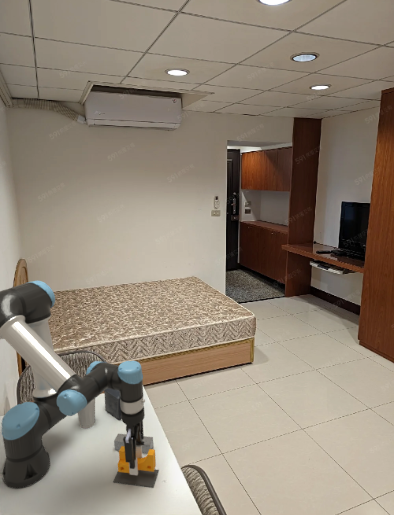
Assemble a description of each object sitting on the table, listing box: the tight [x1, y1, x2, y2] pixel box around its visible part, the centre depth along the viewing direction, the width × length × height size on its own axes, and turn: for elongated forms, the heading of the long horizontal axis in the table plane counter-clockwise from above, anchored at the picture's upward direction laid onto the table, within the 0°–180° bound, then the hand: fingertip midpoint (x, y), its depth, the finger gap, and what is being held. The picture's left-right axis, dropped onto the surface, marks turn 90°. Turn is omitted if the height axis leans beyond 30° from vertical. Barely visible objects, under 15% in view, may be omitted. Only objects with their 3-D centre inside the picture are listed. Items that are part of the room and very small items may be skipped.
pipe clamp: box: [117, 446, 157, 473], centre depth 119 cm, size 12×4×6 cm, turn 81°
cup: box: [77, 398, 96, 430], centre depth 146 cm, size 8×8×12 cm
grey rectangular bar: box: [113, 433, 154, 455], centre depth 133 cm, size 14×4×4 cm, turn 81°
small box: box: [103, 388, 122, 421], centre depth 153 cm, size 11×6×10 cm, turn 49°
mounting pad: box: [112, 468, 160, 489], centre depth 121 cm, size 14×7×1 cm, turn 81°
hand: (136, 467), depth 120 cm, fingers closed on pipe clamp, 4 cm apart
